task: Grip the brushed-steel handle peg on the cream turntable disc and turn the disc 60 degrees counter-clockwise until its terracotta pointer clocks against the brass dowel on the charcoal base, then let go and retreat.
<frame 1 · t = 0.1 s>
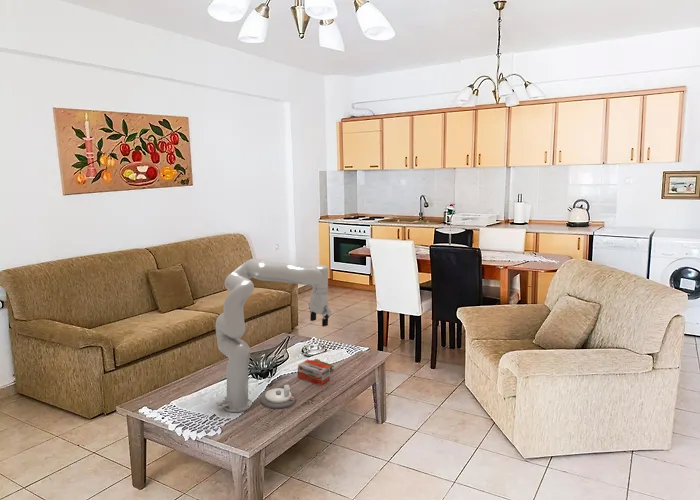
hand: (319, 323, 257), 31 cm above the table, fingers open, 9 cm apart
dial base: (278, 400, 241), on the table
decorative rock: (318, 369, 278), on the table
dial disc: (280, 390, 240), point 5 cm above the table, hinge at 0.0°
medicine box: (313, 380, 265), on the table
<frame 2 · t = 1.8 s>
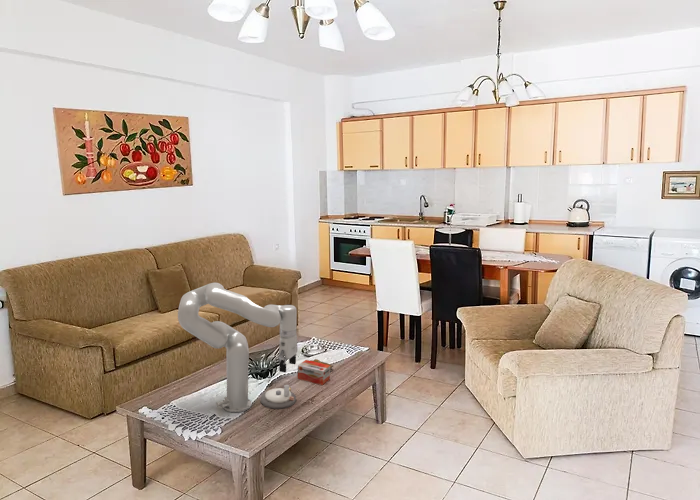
hand: (287, 367, 237), 17 cm above the table, fingers open, 9 cm apart
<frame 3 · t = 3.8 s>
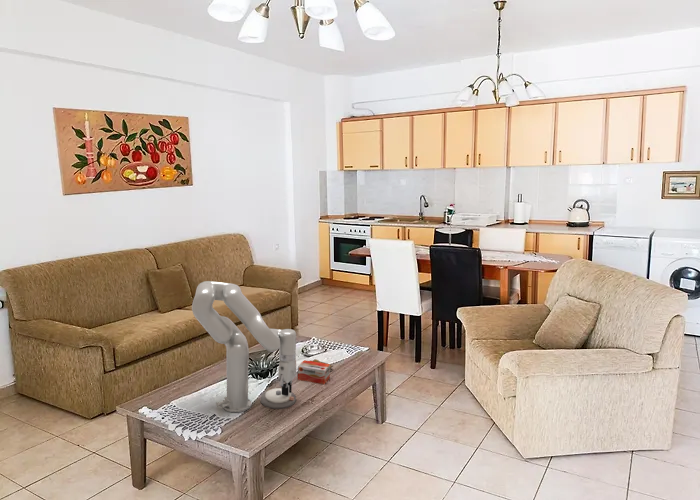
hand: (286, 393, 239), 4 cm above the table, fingers closed on dial disc, 2 cm apart
dial disc: (280, 390, 240), point 5 cm above the table, hinge at 0.0°, touching gripper
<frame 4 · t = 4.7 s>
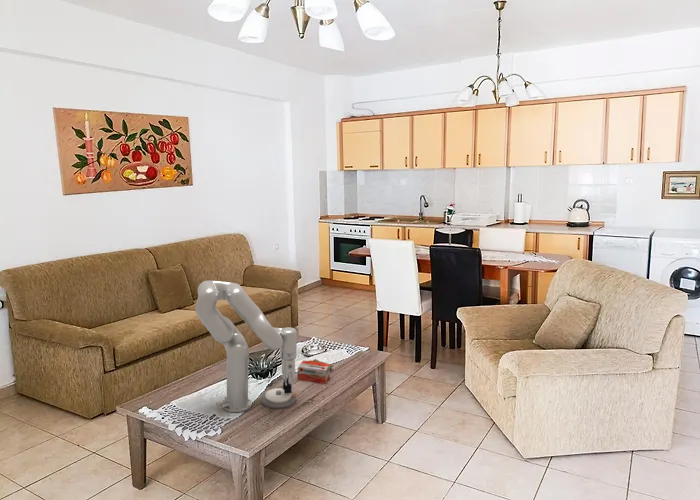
hand: (287, 391, 241), 4 cm above the table, fingers closed
dial disc: (280, 390, 240), point 5 cm above the table, hinge at 30.5°, touching gripper
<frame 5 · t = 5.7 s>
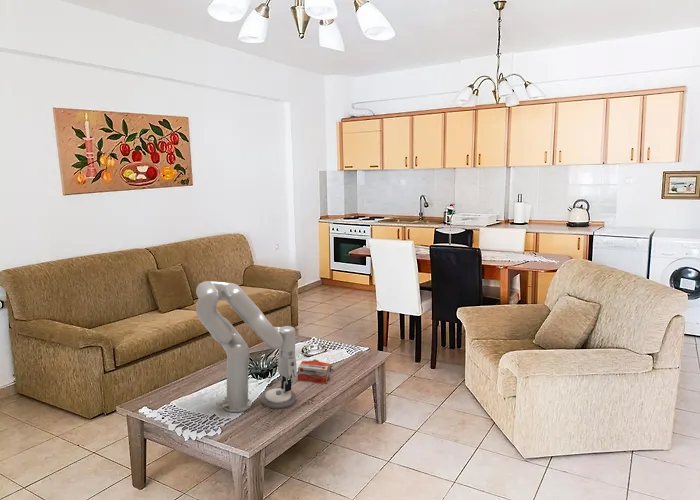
hand: (286, 389, 243), 4 cm above the table, fingers closed on dial disc, 2 cm apart
dial disc: (280, 390, 241), point 5 cm above the table, hinge at 58.3°, touching gripper
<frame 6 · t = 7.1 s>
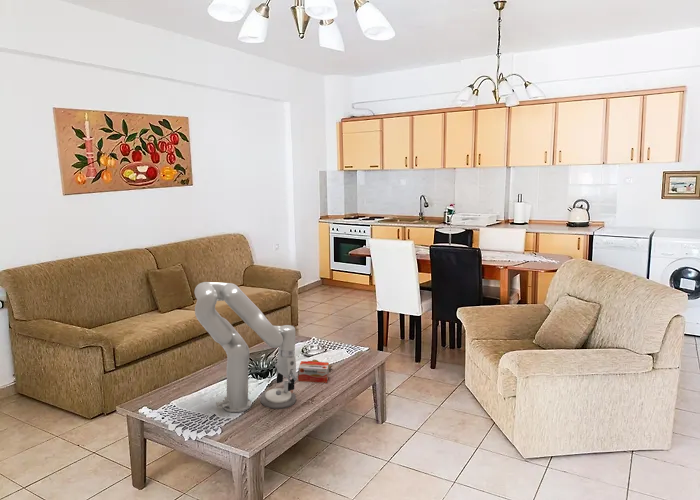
hand: (285, 386, 242), 6 cm above the table, fingers open, 9 cm apart
dial disc: (280, 390, 241), point 5 cm above the table, hinge at 58.9°
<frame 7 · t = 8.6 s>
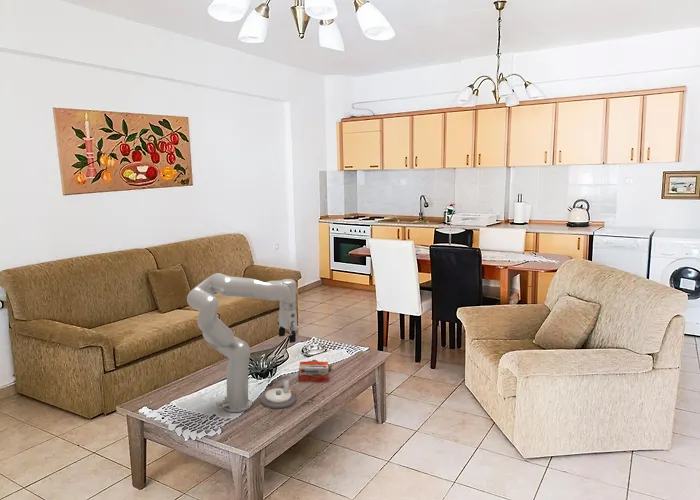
hand: (287, 339, 249), 26 cm above the table, fingers open, 9 cm apart
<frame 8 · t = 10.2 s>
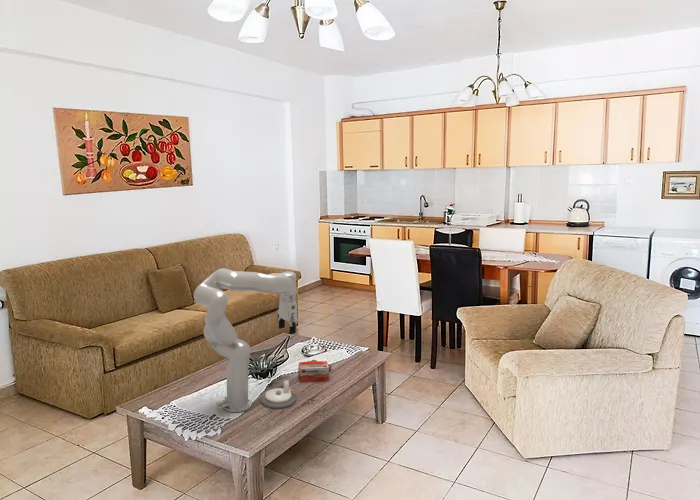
hand: (287, 330, 252), 28 cm above the table, fingers open, 9 cm apart
at the end: dial disc at +59° (first picture: +0°); the gripper is holding nothing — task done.
